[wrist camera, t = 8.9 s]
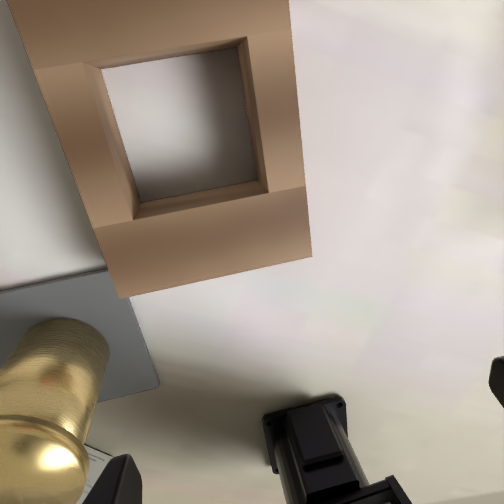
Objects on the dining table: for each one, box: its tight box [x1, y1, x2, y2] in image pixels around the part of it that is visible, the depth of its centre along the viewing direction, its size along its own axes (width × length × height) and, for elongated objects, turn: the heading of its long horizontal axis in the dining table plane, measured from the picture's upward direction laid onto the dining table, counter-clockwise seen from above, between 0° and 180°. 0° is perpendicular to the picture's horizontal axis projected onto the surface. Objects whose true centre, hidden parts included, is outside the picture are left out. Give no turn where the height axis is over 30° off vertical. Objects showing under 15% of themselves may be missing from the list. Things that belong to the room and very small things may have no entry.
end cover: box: [0, 319, 110, 504], centre depth 17 cm, size 6×6×8 cm
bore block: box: [7, 0, 312, 299], centre depth 16 cm, size 14×10×3 cm
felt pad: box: [0, 268, 160, 403], centre depth 21 cm, size 9×9×1 cm
